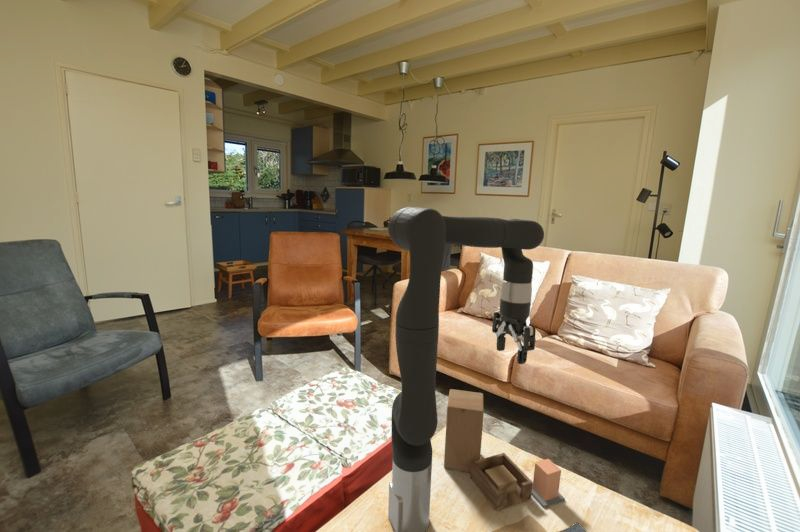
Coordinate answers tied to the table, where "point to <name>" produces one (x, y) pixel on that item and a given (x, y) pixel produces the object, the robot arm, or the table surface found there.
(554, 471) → the block
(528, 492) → the crate
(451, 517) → the table surface
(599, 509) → the table surface
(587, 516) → the table surface
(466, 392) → the wooden block
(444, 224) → the robot arm
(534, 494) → the pad
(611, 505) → the table surface
